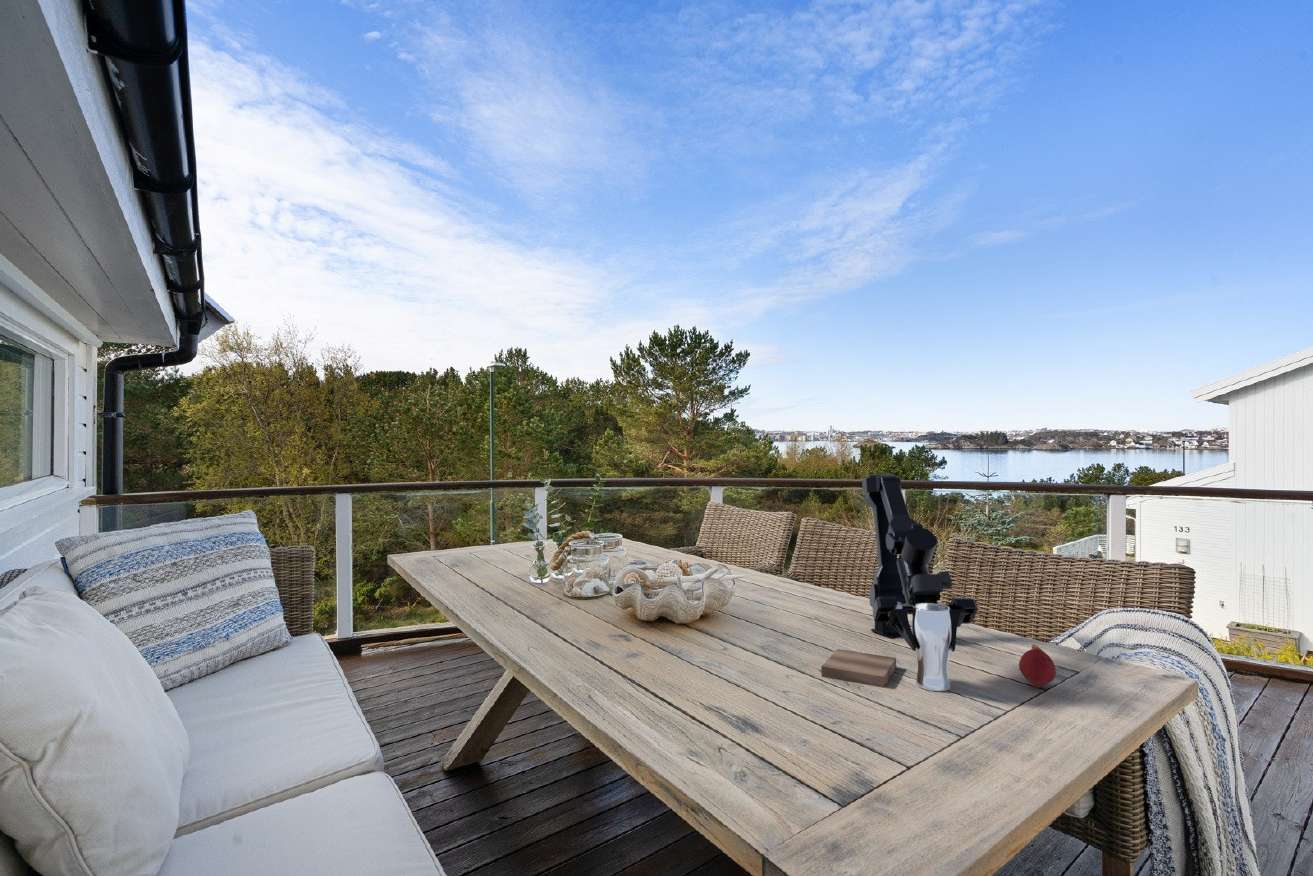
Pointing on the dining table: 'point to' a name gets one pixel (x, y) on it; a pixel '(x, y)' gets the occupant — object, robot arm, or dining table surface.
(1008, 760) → the dining table surface
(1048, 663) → the onion
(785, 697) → the dining table surface
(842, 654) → the walnut board
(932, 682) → the beer glass
